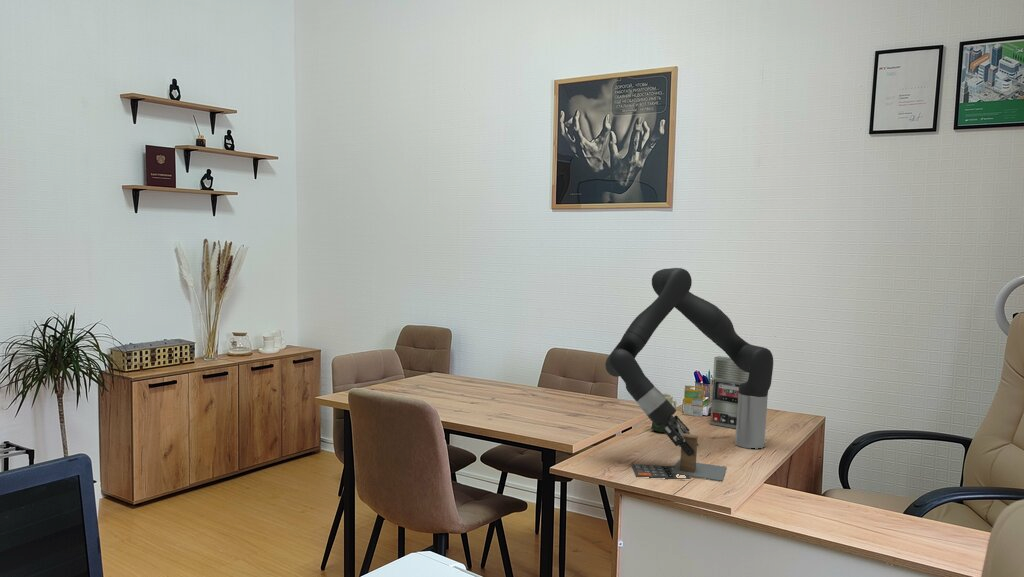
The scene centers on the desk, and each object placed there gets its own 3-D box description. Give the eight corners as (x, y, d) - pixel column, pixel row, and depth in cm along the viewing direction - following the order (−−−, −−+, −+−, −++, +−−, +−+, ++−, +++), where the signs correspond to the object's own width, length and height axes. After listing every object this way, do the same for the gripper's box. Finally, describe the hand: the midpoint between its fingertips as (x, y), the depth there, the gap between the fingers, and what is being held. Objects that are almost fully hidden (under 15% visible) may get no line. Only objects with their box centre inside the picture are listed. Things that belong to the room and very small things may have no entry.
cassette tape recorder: (709, 424, 268) (713, 357, 267) (714, 421, 273) (718, 356, 272) (746, 431, 260) (751, 362, 259) (751, 428, 265) (756, 360, 264)
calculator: (631, 463, 212) (683, 466, 212) (631, 466, 212) (682, 469, 212) (636, 475, 201) (691, 478, 200) (636, 479, 201) (690, 482, 200)
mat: (678, 461, 218) (678, 460, 218) (726, 468, 213) (726, 466, 213) (671, 474, 205) (671, 472, 205) (722, 481, 200) (722, 480, 200)
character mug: (670, 428, 259) (672, 392, 258) (679, 434, 252) (681, 397, 251) (641, 429, 256) (643, 392, 255) (650, 434, 249) (652, 397, 248)
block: (681, 467, 211) (683, 433, 210) (695, 469, 210) (697, 435, 209) (679, 470, 207) (681, 436, 207) (694, 472, 206) (696, 438, 205)
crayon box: (702, 415, 284) (703, 385, 283) (702, 416, 281) (704, 387, 280) (683, 413, 285) (684, 384, 285) (683, 414, 283) (684, 385, 282)
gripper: (661, 402, 203) (701, 448, 200) (669, 394, 217) (706, 437, 213) (641, 419, 205) (680, 465, 202) (650, 409, 219) (687, 452, 215)
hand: (693, 450), depth 208 cm, fingers open, 8 cm apart
